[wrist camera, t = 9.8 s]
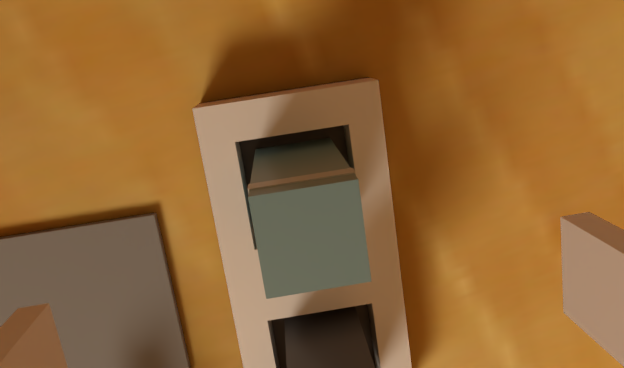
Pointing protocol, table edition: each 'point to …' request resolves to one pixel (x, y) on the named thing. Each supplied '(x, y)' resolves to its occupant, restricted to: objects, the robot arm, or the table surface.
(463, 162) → the table surface
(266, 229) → the plug
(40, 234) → the pad
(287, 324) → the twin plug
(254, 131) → the power strip
